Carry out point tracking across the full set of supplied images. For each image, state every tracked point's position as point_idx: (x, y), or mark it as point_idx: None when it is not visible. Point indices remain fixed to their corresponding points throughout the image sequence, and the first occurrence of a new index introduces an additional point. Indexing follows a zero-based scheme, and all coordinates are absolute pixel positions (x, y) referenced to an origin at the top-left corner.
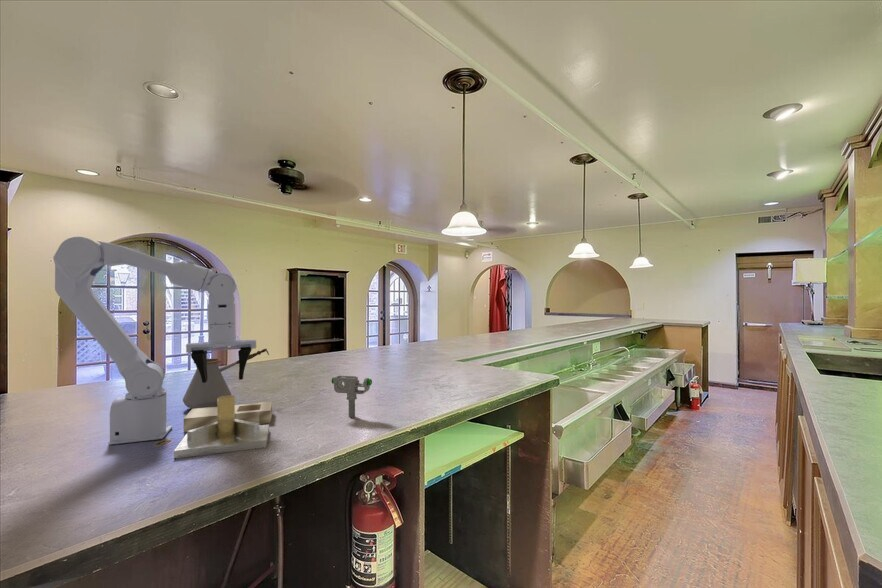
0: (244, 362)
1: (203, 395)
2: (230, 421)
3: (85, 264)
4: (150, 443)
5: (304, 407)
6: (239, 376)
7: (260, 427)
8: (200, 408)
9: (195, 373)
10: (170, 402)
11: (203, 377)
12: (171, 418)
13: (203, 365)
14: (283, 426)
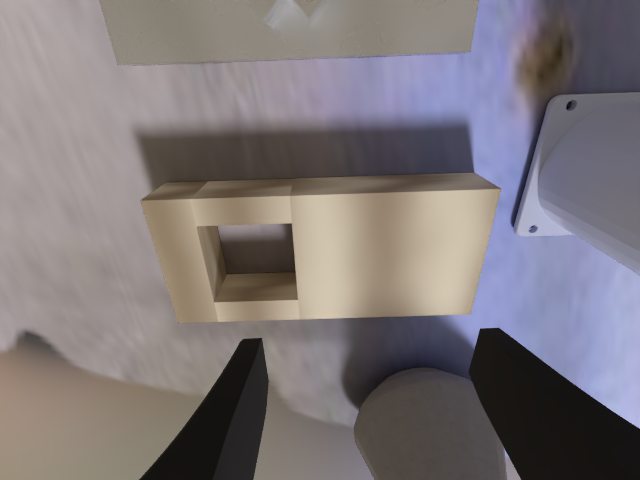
0: (154, 471)
1: (443, 408)
2: None
3: None
4: (589, 63)
5: (96, 325)
6: (252, 353)
7: (144, 23)
8: (441, 310)
9: None
10: None
11: (517, 353)
12: (513, 328)
13: (604, 450)
14: (92, 116)
